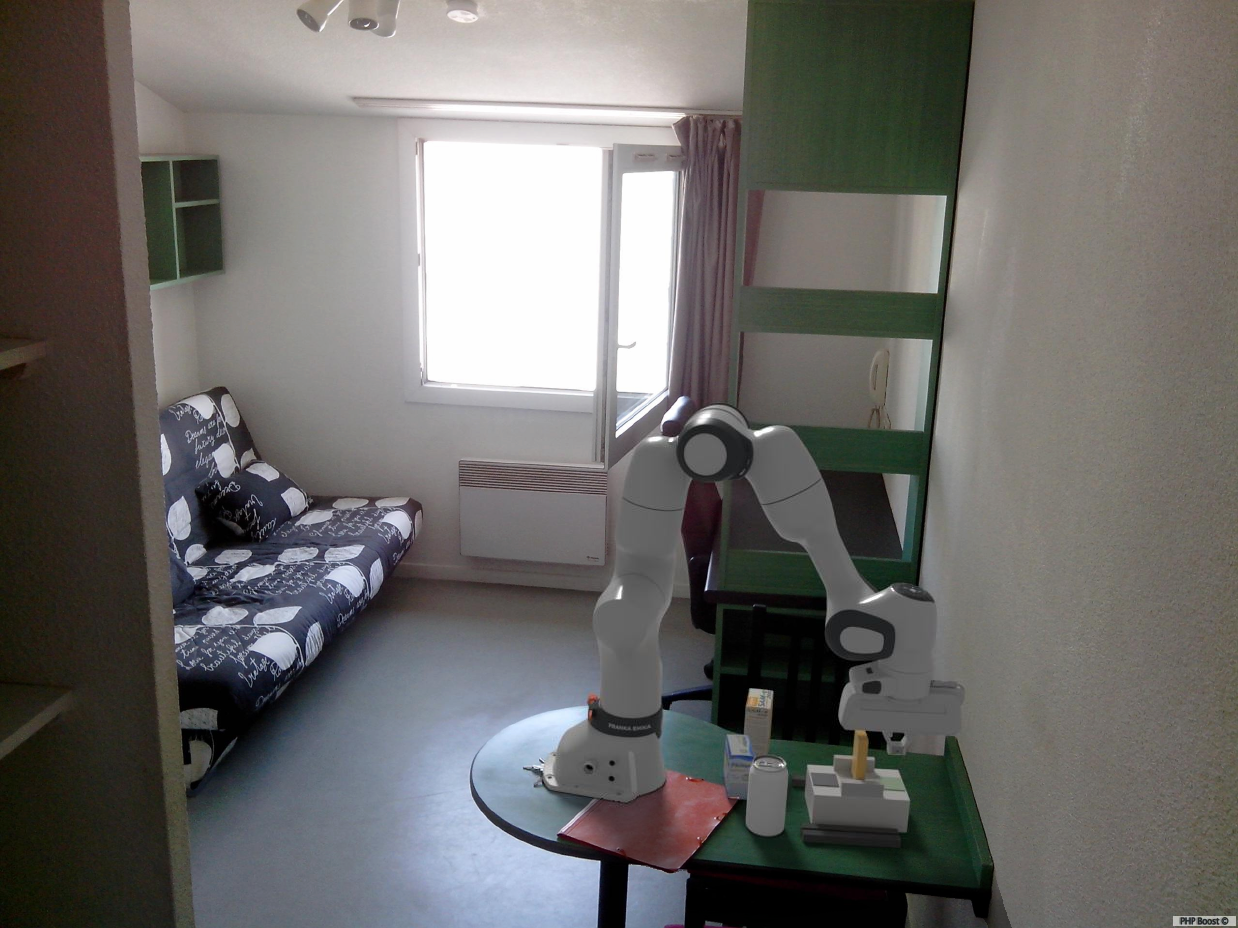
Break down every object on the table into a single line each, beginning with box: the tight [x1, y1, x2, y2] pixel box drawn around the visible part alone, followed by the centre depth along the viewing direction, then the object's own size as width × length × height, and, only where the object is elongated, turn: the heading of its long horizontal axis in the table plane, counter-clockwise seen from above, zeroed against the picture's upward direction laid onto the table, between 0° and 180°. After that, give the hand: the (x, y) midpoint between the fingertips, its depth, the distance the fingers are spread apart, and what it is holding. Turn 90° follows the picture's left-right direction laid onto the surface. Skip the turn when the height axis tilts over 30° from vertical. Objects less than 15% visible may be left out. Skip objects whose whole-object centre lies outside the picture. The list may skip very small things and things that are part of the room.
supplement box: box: [743, 688, 774, 757], centre depth 198 cm, size 8×5×13 cm, turn 168°
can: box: [745, 754, 789, 838], centre depth 177 cm, size 6×6×12 cm
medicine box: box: [722, 734, 755, 801], centre depth 189 cm, size 8×4×9 cm, turn 1°
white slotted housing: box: [804, 754, 911, 833], centre depth 182 cm, size 16×10×8 cm, turn 87°
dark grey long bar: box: [790, 774, 806, 788], centre depth 191 cm, size 16×1×1 cm, turn 87°
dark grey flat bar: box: [800, 822, 902, 849], centre depth 175 cm, size 16×3×1 cm, turn 87°
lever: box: [851, 730, 869, 780], centre depth 181 cm, size 2×6×9 cm, turn 177°
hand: (896, 753), depth 180 cm, fingers closed
